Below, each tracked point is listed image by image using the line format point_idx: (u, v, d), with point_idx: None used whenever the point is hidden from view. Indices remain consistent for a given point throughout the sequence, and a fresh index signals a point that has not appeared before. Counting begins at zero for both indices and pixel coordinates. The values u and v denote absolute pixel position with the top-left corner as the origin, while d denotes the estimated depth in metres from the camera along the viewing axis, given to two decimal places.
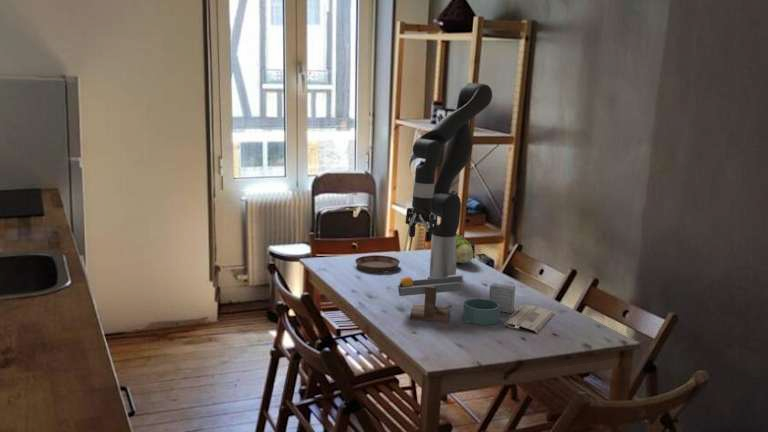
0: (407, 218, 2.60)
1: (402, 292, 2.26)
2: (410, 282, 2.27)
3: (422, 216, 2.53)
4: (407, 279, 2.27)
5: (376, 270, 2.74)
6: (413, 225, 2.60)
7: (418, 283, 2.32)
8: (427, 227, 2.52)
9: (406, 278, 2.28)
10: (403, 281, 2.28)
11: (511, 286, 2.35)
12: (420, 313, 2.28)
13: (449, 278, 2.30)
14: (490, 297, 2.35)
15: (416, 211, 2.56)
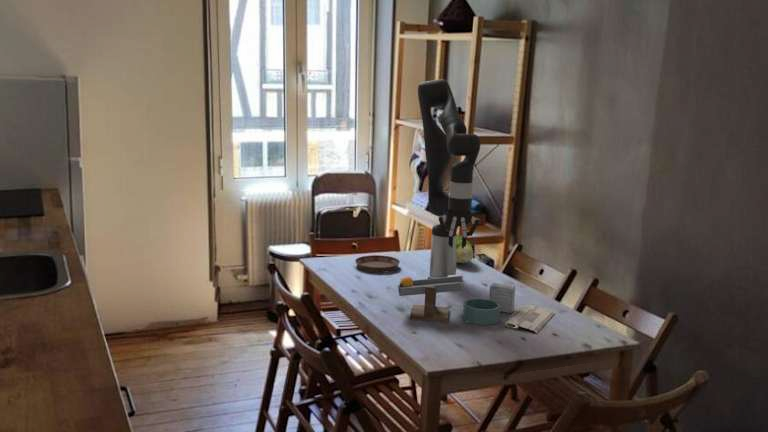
0: None
1: (402, 292, 2.26)
2: (410, 282, 2.27)
3: None
4: (407, 279, 2.27)
5: (376, 270, 2.74)
6: (463, 234, 2.31)
7: (418, 283, 2.32)
8: (449, 230, 2.33)
9: (406, 278, 2.28)
10: (403, 281, 2.28)
11: (511, 286, 2.35)
12: (420, 313, 2.28)
13: (449, 278, 2.30)
14: (490, 297, 2.35)
15: None
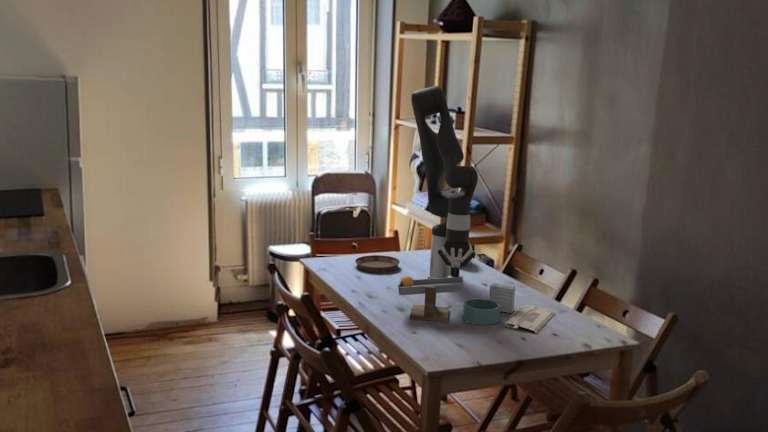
0: None
1: (402, 291, 2.26)
2: (410, 281, 2.27)
3: None
4: (407, 279, 2.27)
5: (376, 270, 2.74)
6: (456, 264, 2.34)
7: (418, 283, 2.32)
8: (451, 261, 2.35)
9: (406, 277, 2.28)
10: (403, 280, 2.27)
11: (511, 286, 2.35)
12: (420, 313, 2.28)
13: (449, 279, 2.31)
14: (490, 297, 2.35)
15: None
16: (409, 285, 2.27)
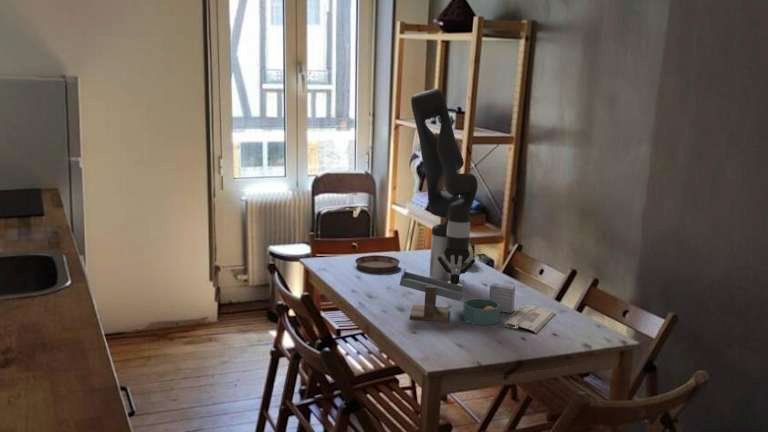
0: None
1: (403, 283, 2.25)
2: None
3: None
4: None
5: (376, 270, 2.74)
6: (456, 271, 2.34)
7: (419, 279, 2.32)
8: (451, 268, 2.36)
9: None
10: None
11: (511, 286, 2.35)
12: (420, 313, 2.28)
13: (450, 284, 2.31)
14: (490, 297, 2.35)
15: None
16: None
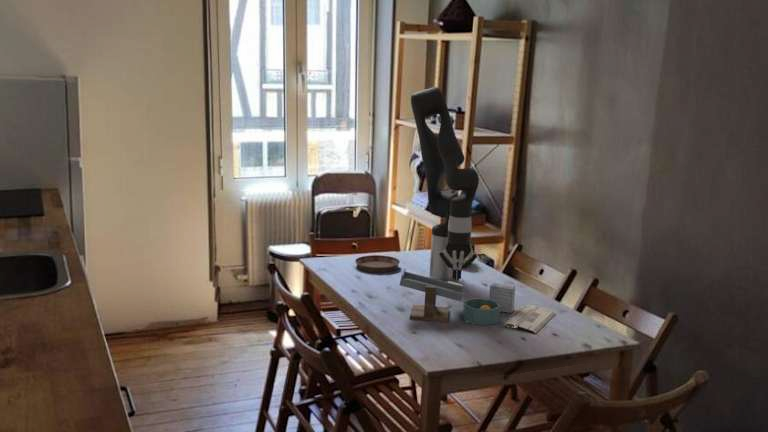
0: None
1: (403, 283, 2.25)
2: None
3: None
4: (488, 307, 2.27)
5: (376, 270, 2.74)
6: (458, 266, 2.34)
7: (419, 279, 2.32)
8: None
9: None
10: (483, 306, 2.27)
11: (511, 286, 2.35)
12: (420, 313, 2.28)
13: (450, 284, 2.31)
14: (490, 297, 2.35)
15: None
16: None
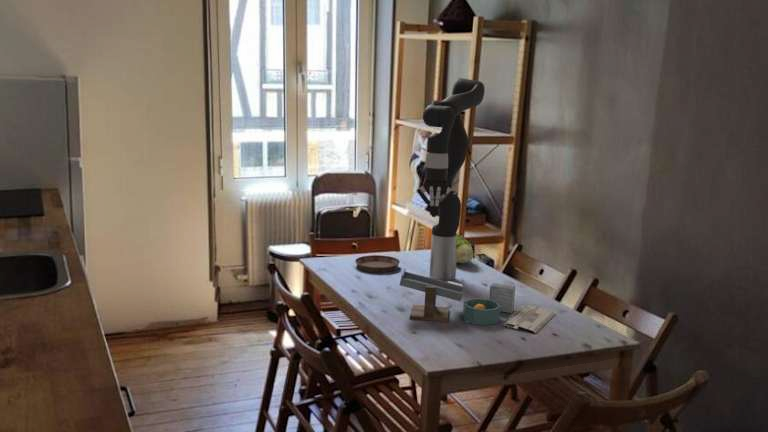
0: None
1: (403, 283, 2.25)
2: (480, 305, 2.28)
3: None
4: (477, 304, 2.29)
5: (376, 270, 2.74)
6: (435, 203, 2.40)
7: (419, 279, 2.32)
8: None
9: None
10: (474, 307, 2.29)
11: (511, 286, 2.35)
12: (420, 313, 2.28)
13: (450, 284, 2.31)
14: (490, 297, 2.35)
15: None
16: None
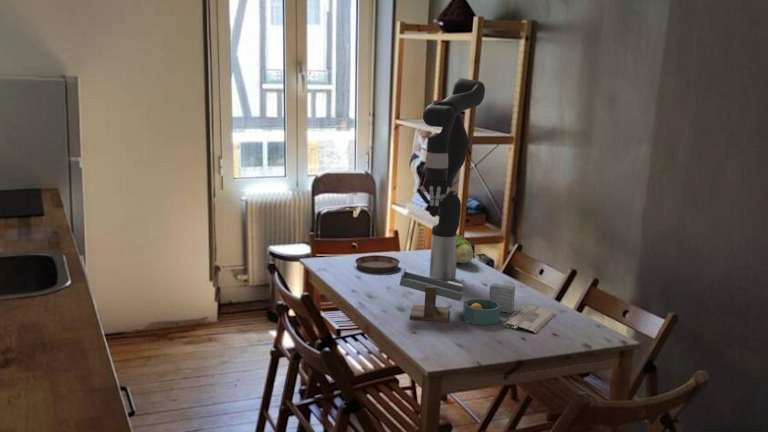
0: None
1: (403, 283, 2.25)
2: (474, 304, 2.29)
3: None
4: (471, 305, 2.30)
5: (376, 270, 2.74)
6: (435, 202, 2.40)
7: (419, 279, 2.32)
8: None
9: None
10: None
11: (511, 286, 2.35)
12: (420, 313, 2.28)
13: (450, 284, 2.31)
14: (490, 297, 2.35)
15: None
16: (474, 307, 2.28)
